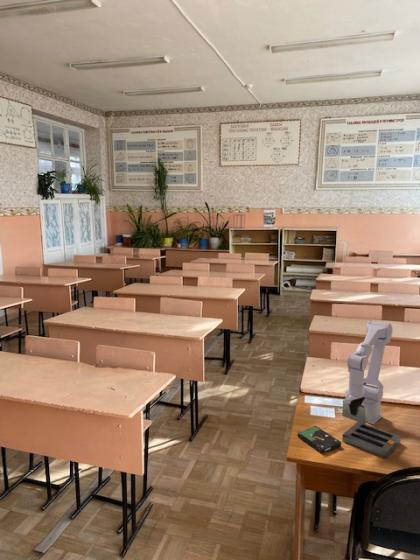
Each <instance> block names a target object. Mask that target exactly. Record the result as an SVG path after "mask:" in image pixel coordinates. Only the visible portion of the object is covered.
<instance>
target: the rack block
mask: <svg viewBox="0 0 420 560" xmlns="http://www.w3.org/2000/svg"><path fill="white" fill-rule="evenodd" d="M401 438H402V437H401V435H398V434H395V433H393V432H389V431H386V430H383V429H381V428H377V427H375V426H372V425H369V424H367V423H366V424H363V423H360V422H357V421H356V422H355V423H354V424H353V425H352V426H351V427H349V428H348V429H346V431H345V432H343V433H342V439H341V440H342V441H341V442H344V443H346V444H349V445H351V446H354V447H356V448H359V449H361V450H364V451H366V452H368V453H371V454H374V455H376V456H379V457H381V458H384V459H388V458H389V456H390V455H392V453H393V452H394V451H395V450H396V449H397V447H399V445H400V444H401V441H402V440H401Z"/></svg>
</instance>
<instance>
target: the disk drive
mask: <svg viewBox="0 0 420 560" xmlns="http://www.w3.org/2000/svg"><path fill="white" fill-rule="evenodd" d="M297 437H298V439H300V440H301V441H303V443H305V444H307V445H308V446H310V447H311V448H312V449H314V450H315V451H317V452H319V454H321V455H325V454H327V453H329V452H331V451H335V450H338V449H339V447H340V448H341V447H342V441H340V439H337V438H336V437H334V436H333V435H331V434H330V433H328V432H327V431H325V430H323V429H321V428H320V427H318V426H317V425H314V426H311V427H307V428H306V429H303V430H301V431H298V433H297Z"/></svg>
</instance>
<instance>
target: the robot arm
mask: <svg viewBox="0 0 420 560" xmlns="http://www.w3.org/2000/svg"><path fill="white" fill-rule="evenodd" d="M365 330H366V336H365V338H364V340H363V341H362V342H360V343H359V344H358V345H357V347H356V349H355V351H354V353H352V354H350V355H349V356H348V358H347V363H346V364H347V365H346V366H347V371H348V374H349V375H348V389H346V391H345V393H346V394H347V395H346V397H345V398H344V400H345V403H347V404H348V405H349V408H350V413H351V415H354V416H356V414H357V410H358V406H359V404H360V405H363V406H366V407H367V423H369V424H372V425H375V424H376V423H377V422H378V421H379V420H380V419H382V417H383V415H381V406H382V405H381V401H382V400H383V396H384V385H383V384H382V382H381V381H380V380H379V377H380V373H381V369H382V368H381V367H382V363H383V357H384V353H385V348H386V344H390V342H391V340H392V337H393V336H392V335H393V325H392V323H385V322H381V321H373V320H369V321H368V322H367V323H366V328H365ZM369 358H370V360H369ZM368 363H369V364H368ZM367 364H368V365H367ZM367 366H368V370H367V375H366V377H365V370H366V369H367Z"/></svg>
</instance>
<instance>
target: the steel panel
mask: <svg viewBox="0 0 420 560" xmlns="http://www.w3.org/2000/svg"><path fill="white" fill-rule="evenodd" d="M342 417H343V418H346V419H349V420H352V421H354V422H356V423H357V422H360V423H363V424H367V423H368V422H367V407H366V406H363V405H360V404H359V406H358V410H357V414H356V416H354V415H351V413H350V408H349V405H348V404H347V403H345V399H344V400H342Z"/></svg>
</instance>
